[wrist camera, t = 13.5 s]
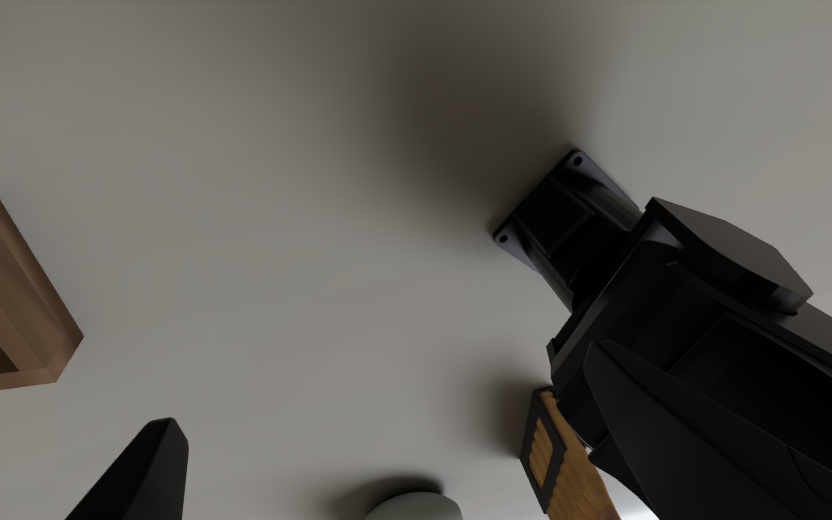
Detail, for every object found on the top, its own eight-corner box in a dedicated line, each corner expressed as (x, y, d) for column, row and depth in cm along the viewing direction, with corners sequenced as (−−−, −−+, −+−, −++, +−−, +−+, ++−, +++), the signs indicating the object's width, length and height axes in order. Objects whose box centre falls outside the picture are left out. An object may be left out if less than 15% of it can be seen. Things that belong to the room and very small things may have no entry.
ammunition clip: (533, 389, 33) (623, 560, 24) (554, 385, 33) (652, 552, 24) (519, 459, 39) (586, 617, 30) (537, 455, 40) (610, 610, 30)
